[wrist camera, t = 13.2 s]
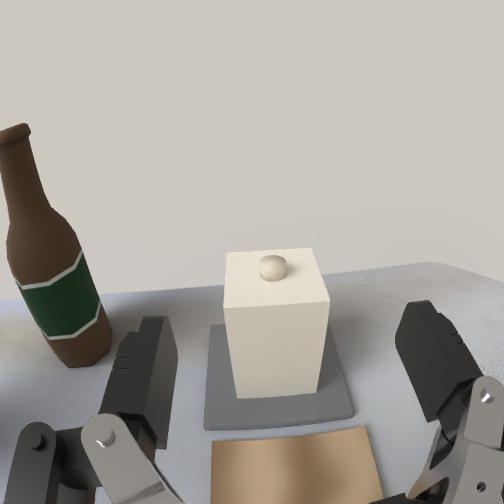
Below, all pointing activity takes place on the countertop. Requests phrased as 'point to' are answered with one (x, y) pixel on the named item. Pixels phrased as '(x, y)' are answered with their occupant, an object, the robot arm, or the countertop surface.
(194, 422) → the countertop surface
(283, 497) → the cork mat
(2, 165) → the beer bottle
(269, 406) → the slate coaster
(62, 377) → the countertop surface
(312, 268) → the knobbed cream block
